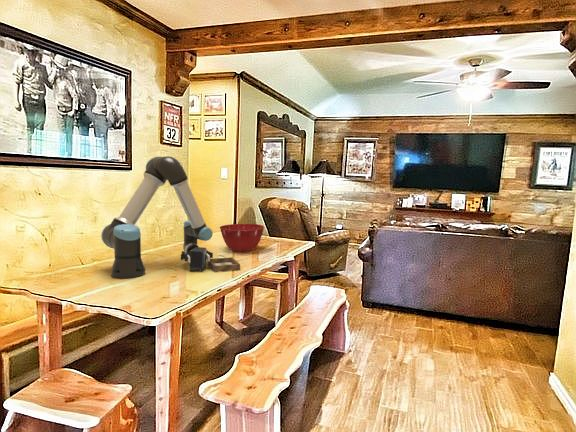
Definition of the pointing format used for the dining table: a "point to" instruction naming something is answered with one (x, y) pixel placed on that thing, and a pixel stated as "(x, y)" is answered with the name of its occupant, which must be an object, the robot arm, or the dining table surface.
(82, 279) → the dining table surface
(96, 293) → the dining table surface
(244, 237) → the mixing bowl
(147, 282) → the dining table surface
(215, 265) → the walnut tray
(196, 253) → the small box
